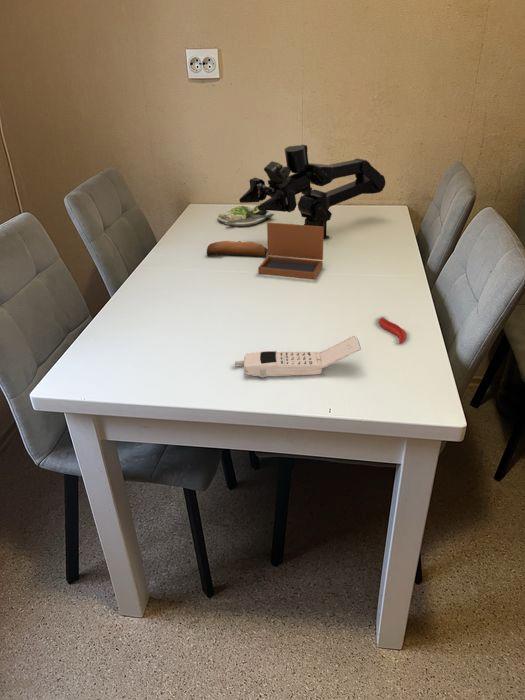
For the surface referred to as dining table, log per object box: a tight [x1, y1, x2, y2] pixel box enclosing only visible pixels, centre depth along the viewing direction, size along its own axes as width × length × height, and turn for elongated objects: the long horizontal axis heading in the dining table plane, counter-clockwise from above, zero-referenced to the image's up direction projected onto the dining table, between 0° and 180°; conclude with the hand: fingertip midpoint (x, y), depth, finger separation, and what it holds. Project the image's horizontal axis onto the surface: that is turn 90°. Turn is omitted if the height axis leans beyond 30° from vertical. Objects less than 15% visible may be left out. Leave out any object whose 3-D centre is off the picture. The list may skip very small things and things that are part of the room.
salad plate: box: [216, 203, 275, 227], centre depth 195 cm, size 19×18×5 cm
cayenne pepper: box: [378, 317, 407, 344], centre depth 126 cm, size 12×5×2 cm, turn 3°
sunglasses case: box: [206, 240, 268, 258], centre depth 169 cm, size 18×7×7 cm, turn 80°
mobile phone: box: [234, 335, 362, 378], centre depth 113 cm, size 6×6×25 cm
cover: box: [266, 222, 324, 261], centre depth 156 cm, size 9×16×1 cm
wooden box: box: [257, 255, 324, 280], centre depth 156 cm, size 9×16×2 cm, turn 72°
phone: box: [266, 261, 317, 272], centre depth 156 cm, size 7×14×1 cm, turn 72°
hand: (248, 204), depth 159 cm, fingers open, 9 cm apart
